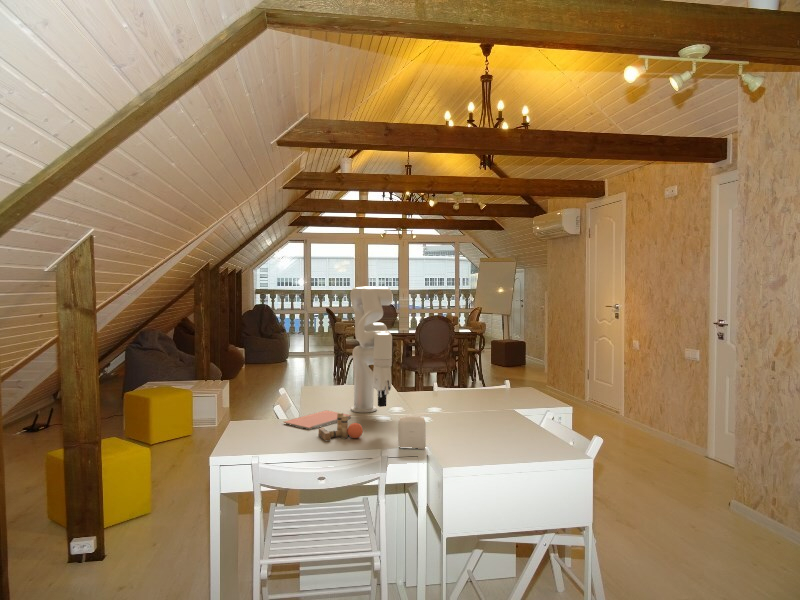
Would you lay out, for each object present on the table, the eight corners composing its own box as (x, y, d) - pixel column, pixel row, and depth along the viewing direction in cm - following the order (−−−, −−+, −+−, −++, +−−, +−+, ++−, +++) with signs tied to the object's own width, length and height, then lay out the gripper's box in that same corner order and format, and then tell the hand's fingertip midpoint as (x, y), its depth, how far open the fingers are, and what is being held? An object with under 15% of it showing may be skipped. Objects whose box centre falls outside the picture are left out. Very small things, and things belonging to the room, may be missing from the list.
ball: (342, 430, 210) (351, 418, 212) (347, 434, 215) (356, 422, 217) (353, 439, 207) (363, 426, 209) (358, 442, 213) (367, 430, 214)
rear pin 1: (336, 433, 218) (336, 413, 218) (342, 433, 219) (342, 412, 219) (338, 435, 216) (338, 414, 215) (344, 434, 217) (344, 414, 216)
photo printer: (398, 449, 198) (398, 416, 198) (398, 446, 202) (398, 413, 202) (425, 450, 198) (426, 416, 197) (425, 446, 202) (425, 414, 202)
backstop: (318, 435, 215) (318, 428, 215) (323, 434, 216) (323, 427, 216) (325, 441, 207) (325, 433, 207) (330, 440, 208) (330, 433, 208)
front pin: (348, 433, 217) (328, 435, 214) (348, 428, 217) (328, 430, 213) (350, 436, 215) (330, 438, 212) (350, 431, 215) (330, 433, 211)
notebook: (310, 432, 222) (310, 427, 222) (282, 425, 232) (282, 421, 232) (353, 419, 245) (353, 414, 245) (326, 413, 254) (326, 409, 254)
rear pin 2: (340, 437, 213) (340, 416, 213) (346, 436, 214) (346, 415, 214) (342, 438, 211) (342, 417, 211) (348, 438, 212) (348, 416, 212)
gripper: (367, 360, 227) (366, 402, 228) (381, 366, 214) (380, 411, 215) (383, 359, 230) (383, 401, 231) (398, 365, 217) (397, 409, 218)
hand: (381, 405), depth 223 cm, fingers closed
